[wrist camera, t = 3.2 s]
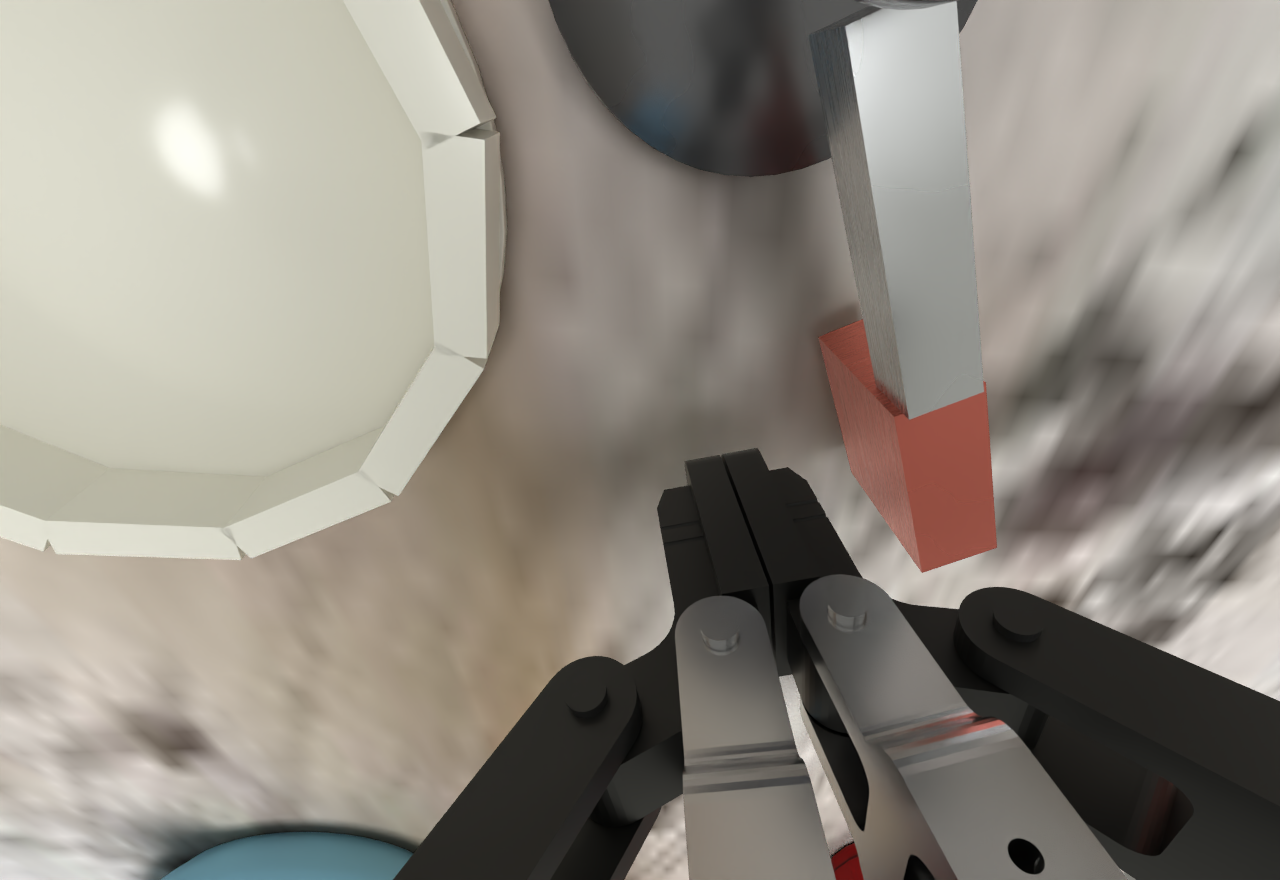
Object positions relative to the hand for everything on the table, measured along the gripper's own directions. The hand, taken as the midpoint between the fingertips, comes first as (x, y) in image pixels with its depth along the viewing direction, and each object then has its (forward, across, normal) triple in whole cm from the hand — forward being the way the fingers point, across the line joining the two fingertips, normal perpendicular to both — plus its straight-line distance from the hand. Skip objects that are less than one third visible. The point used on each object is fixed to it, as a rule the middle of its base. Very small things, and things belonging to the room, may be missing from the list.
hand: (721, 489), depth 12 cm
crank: (+2, -3, -3) cm, 5 cm away
